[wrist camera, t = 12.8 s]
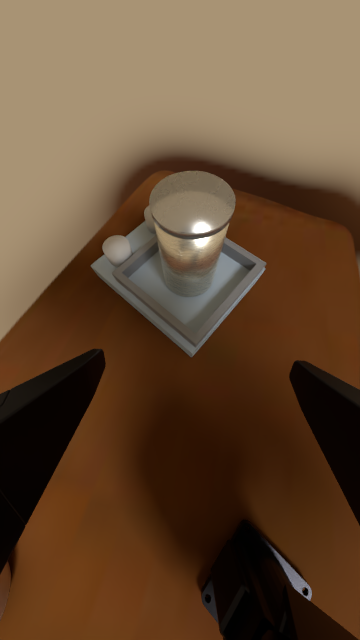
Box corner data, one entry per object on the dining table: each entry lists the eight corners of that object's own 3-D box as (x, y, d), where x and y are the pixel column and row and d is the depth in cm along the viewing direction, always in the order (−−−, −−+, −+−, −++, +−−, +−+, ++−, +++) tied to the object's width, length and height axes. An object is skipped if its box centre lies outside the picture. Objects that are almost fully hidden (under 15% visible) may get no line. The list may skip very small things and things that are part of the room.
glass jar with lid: (214, 299, 21) (237, 234, 12) (161, 296, 21) (144, 231, 12) (214, 240, 24) (232, 152, 15) (167, 239, 24) (157, 151, 15)
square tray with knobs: (257, 279, 25) (272, 258, 21) (191, 357, 22) (193, 350, 18) (166, 219, 29) (163, 190, 25) (98, 276, 26) (82, 255, 22)
